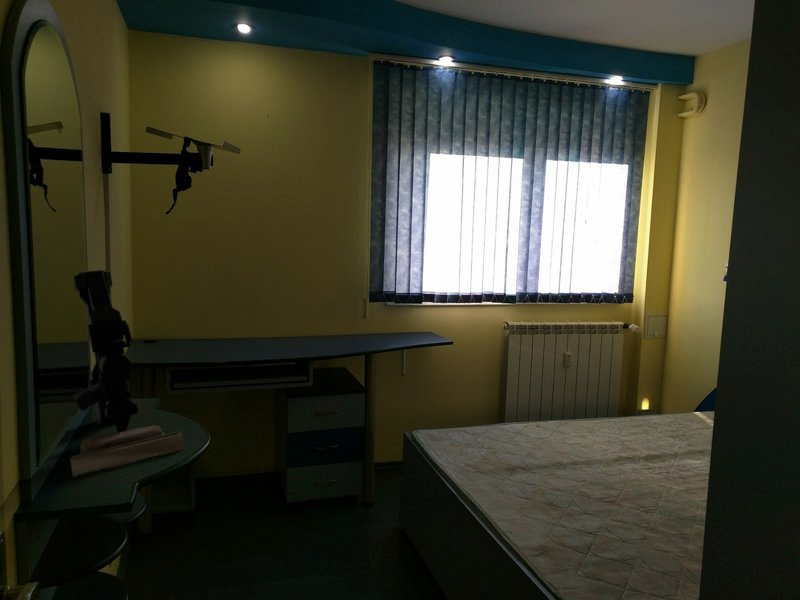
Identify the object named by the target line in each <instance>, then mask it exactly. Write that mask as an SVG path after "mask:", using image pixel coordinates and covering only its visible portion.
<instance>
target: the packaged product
mask: <svg viewBox="0 0 800 600" xmlns="http://www.w3.org/2000/svg"><path fill="white" fill-rule="evenodd" d="M161 435H165V432H164V431H163V430H162V429H161V426H159V425H150V426H145V427H138V428H135V429H133V428H132V429H128V430H127V429H126V431H123V432H115V433H108V434H104V435H99V436H93V437H89V438H86V439H85V438H84V439H83V440H82V441H81V444H80V446H79V449H80V454H85V453H89V452H93V451H97V450H102V449H106V448H110V447H114V446H119V445H123V444H127V443H131V442H136V441H140V440H144V439H148V438H153V437H157V436H161Z"/></svg>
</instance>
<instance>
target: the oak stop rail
mask: <svg viewBox="0 0 800 600" xmlns="http://www.w3.org/2000/svg"><path fill="white" fill-rule="evenodd" d="M164 434H165V433H164ZM183 439H184V438H183V434H182V433H181V432H180V431H175V432H174V431H173V432H170V433H166V434H165V435H161V436H157V437H153V438H148V439H144V440H140V441H136V442H131V443H127V444H123V445H119V446H114V447H110V448H106V449H102V450H97V451H93V452H89V453H85V454H81V453H80V454H77V455H73V456H72V457H69V458H70V466H71V473H72V477H73V478H75V476H76V477H79V476H78V475H80V476H82V475H81V474H84V475H86V474H85V473H88V474H90V473H89V472H92V473H94V472H93V471H96V472H99V471H98V470H100V471H102V470H101V469H104V470H107V469H111V468H115V467H119V466H123V465H128V464H131V463H135V461H136V462H139V461H138V460H140V461H142V459H144V460H146V459H145V458H148V457H152V458H154V457H153V456H156V457H158V455H160V456H163V455H167V454H171V453H175V452H179V451H182V450H183V451H184V450H185V448H184V447H185V446H184V440H183ZM148 459H149V458H148Z"/></svg>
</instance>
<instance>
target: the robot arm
mask: <svg viewBox="0 0 800 600" xmlns="http://www.w3.org/2000/svg"><path fill="white" fill-rule="evenodd" d="M73 287H74V291H75V292H78V297H79V299H80V300H81V301H82V302H83V304H85V306H86V307H87V313H88V320H89V324H87V332H88V338H89V342H90V346H91V347H90V348H91V352H93V353H94V359H95V360H94V361H95V364H94V365H93V368H92V369H91V372H90V377H91V379H88V385H89V386H88V387H86V388H84V389H82V390H80V391H79V392H77V393H75V394H73V399H74V401H75V403H76V405H77V406H78V408H79V410H80V412H83V411H86V410H88V409H89V408H90V407H92V406H94V405H96V404H97V408H98V409H97V410H98V417H96V419H97V422H98V425H99V426H100V427H104V426H107V425H112V424H114V426H115V429H116V433H118V432H123V431H127V429H128V427H129V423H130V420H131V417H132V415H137V414H138V413H139V410H138V403H136V402H137V401H135V400H134V399H132V398H131V397H132V392H131V390H130V385H129V384H130V383H129V382H130V381H129V380H130V374H131V372H132V367H133V365H132V362H131V359H129V357H128V356H127V355H126V354H125V353H126V352H125V348H130V347H131V346H132V345H131V343H133V338H132V333H131V329H130V326H129V324H128V323H127V321H126V319H124V320H123V318H122V315H121V312H120V310H118V309H116V308H114V307H113V304H112V301H111V297H110V293H111V291H110V288H112V287H113V279H112V273H111V272H109V271H105V270H104V269H103V270H102V269H101V270H88V271H83V272H81V271H80V272H78V273H77V274H76V275H73Z"/></svg>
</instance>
